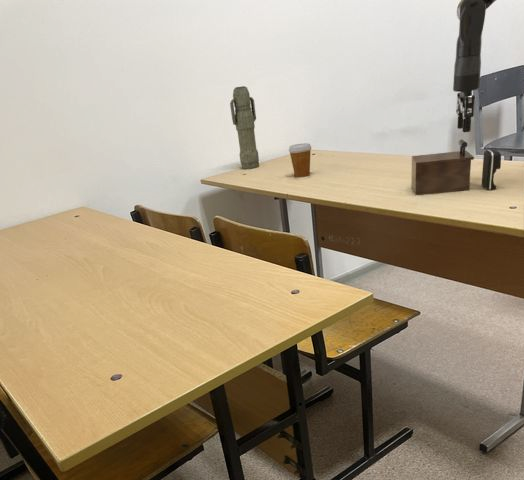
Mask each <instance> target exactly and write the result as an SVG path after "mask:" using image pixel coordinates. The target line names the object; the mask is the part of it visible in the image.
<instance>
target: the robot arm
mask: <svg viewBox="0 0 524 480" xmlns="http://www.w3.org/2000/svg"><path fill="white" fill-rule="evenodd" d="M496 1H497V0H460V1H459V2H458V5H457V7H456V17H457V19H458V20H459V24H458V25H459V26H458V37H457V38H456V46H455V60H454V66H453V85H452V90H453V92H456V96H457V97H456V110H455V112H456V116H457V127H456V128H457V129H458V130H460V129H462V133H470V132H471V128H472V118H474V116H475V115H474V114H475V98H476V96H475V94H474V95H473V93H472V92H473V91H476V90H479V89H480V85H481V84H480V83H481V68H482V43H483V42H482V40H483V39H482V38H483V37H482V36H483V31H484V25H485V20H486V13H487V10H488V9H489V7H491V6H492V5H493V4H494V3H495V2H496Z"/></svg>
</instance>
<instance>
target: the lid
mask: <svg viewBox="0 0 524 480" xmlns="http://www.w3.org/2000/svg"><path fill="white" fill-rule="evenodd" d="M458 145H459V150H458V151H449V152H437V153H429V154H419V155H411V161H412V160H413V161H414V163H415V165H424V164H434V163H444V162H454V161H464V160H471V161H472V160H475V157H474V155H472V154H471V153H470V152H469V151H468V150H466V148H467V147H468V142H467V141H466V140H464V139H460V140H458Z"/></svg>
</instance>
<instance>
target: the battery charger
mask: <svg viewBox="0 0 524 480" xmlns="http://www.w3.org/2000/svg"><path fill="white" fill-rule="evenodd" d="M482 158H483V159H482V173H481V186H482V188H484V189H485V190H495V189H497V185H495V182H494V178H495V173H496V172H497V170H500V169H501V165H502V154H501V152H500V151H498V150H496V149H486V150H484V152H483V157H482Z"/></svg>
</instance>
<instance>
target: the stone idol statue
mask: <svg viewBox="0 0 524 480" xmlns="http://www.w3.org/2000/svg"><path fill="white" fill-rule="evenodd" d="M229 107H230V113H231V120H232V121H231V122H232V125H234V126H235V130H236V132H237V138H238V146H239V161H240V166H241V169H242V170H253V169H257V168H259V167H260V157H259V151H258V149H257V143H256V135H255V128H256V127H255V122H256V120H257V116H256V114H257V113H256V105H255V99H254V98H253V97H252V96H250V91H249V89H248V87H247V86H245V85H243V86H236V87H234V88H233V92H232V99H231V100H230V103H229Z"/></svg>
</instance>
